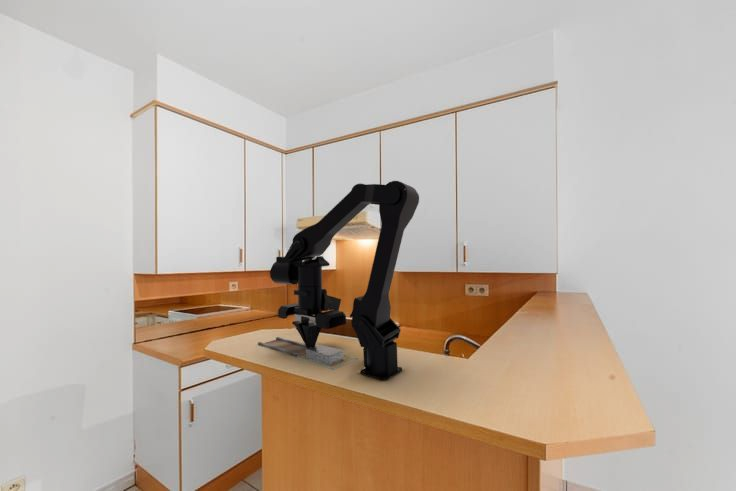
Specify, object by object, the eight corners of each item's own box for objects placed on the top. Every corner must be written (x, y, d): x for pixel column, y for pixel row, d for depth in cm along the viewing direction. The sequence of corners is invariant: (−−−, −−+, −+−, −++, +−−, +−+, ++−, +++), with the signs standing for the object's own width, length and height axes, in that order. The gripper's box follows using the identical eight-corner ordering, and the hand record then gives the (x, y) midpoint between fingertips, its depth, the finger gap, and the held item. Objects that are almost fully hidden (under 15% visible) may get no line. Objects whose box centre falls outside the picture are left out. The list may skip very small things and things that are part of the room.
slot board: (316, 354, 77) (315, 347, 77) (295, 361, 72) (295, 354, 72) (278, 343, 88) (277, 336, 88) (258, 349, 83) (257, 342, 83)
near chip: (343, 363, 69) (342, 350, 69) (330, 369, 66) (329, 355, 66) (331, 360, 71) (330, 347, 71) (317, 365, 68) (317, 352, 68)
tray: (358, 363, 69) (358, 358, 69) (333, 375, 63) (333, 369, 63) (320, 353, 78) (319, 348, 78) (295, 362, 72) (294, 357, 72)
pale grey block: (331, 360, 71) (330, 347, 71) (317, 365, 68) (317, 352, 68) (319, 356, 74) (319, 344, 74) (306, 361, 71) (305, 348, 71)
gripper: (361, 284, 73) (362, 350, 73) (311, 279, 85) (312, 335, 85) (326, 290, 65) (327, 364, 65) (276, 284, 77) (277, 346, 77)
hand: (311, 350), depth 73 cm, fingers closed
